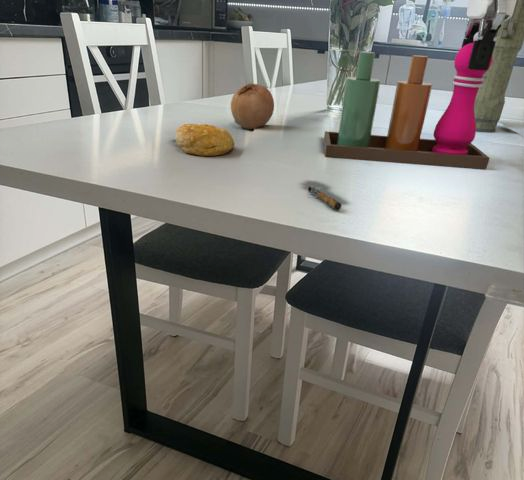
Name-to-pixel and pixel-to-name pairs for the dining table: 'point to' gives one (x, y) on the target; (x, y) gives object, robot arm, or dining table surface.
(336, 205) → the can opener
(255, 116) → the onion
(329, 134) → the tray
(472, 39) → the robot arm
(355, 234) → the dining table surface
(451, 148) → the pepper mill
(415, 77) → the amber bottle
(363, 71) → the green bottle
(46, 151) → the dining table surface
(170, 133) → the dining table surface
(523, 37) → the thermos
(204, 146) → the bread roll
